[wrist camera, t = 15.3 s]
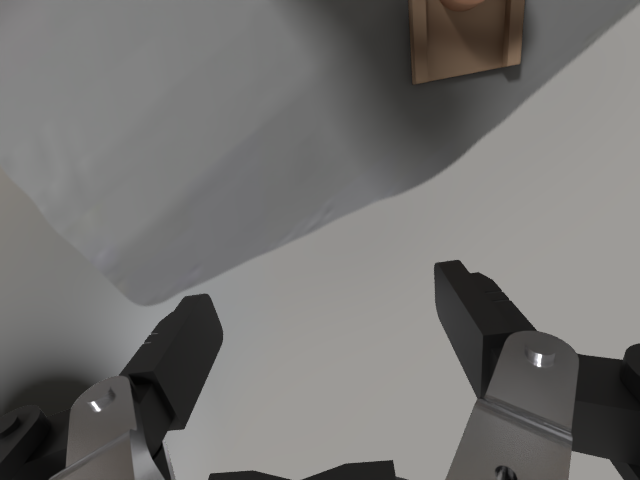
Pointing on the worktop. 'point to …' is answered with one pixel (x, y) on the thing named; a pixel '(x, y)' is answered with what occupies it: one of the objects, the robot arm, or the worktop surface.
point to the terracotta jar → (460, 4)
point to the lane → (463, 38)
